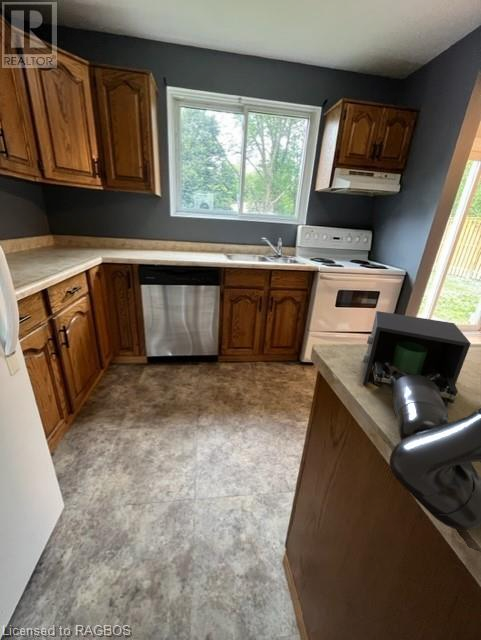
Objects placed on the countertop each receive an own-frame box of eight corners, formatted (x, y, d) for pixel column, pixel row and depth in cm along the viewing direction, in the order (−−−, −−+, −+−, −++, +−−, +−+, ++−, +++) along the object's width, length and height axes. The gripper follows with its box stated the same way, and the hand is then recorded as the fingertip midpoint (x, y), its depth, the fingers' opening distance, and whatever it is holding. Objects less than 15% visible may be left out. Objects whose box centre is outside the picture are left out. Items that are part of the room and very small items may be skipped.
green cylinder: (414, 381, 66) (425, 344, 63) (417, 394, 61) (430, 355, 58) (386, 374, 69) (395, 338, 65) (387, 386, 63) (397, 348, 60)
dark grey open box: (435, 377, 68) (454, 323, 63) (447, 406, 57) (471, 343, 52) (360, 360, 75) (372, 310, 70) (358, 383, 64) (371, 325, 59)
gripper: (475, 399, 44) (451, 357, 58) (378, 375, 49) (377, 342, 63) (460, 435, 46) (440, 387, 60) (369, 409, 52) (370, 370, 66)
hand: (408, 364), depth 62 cm, fingers open, 8 cm apart
